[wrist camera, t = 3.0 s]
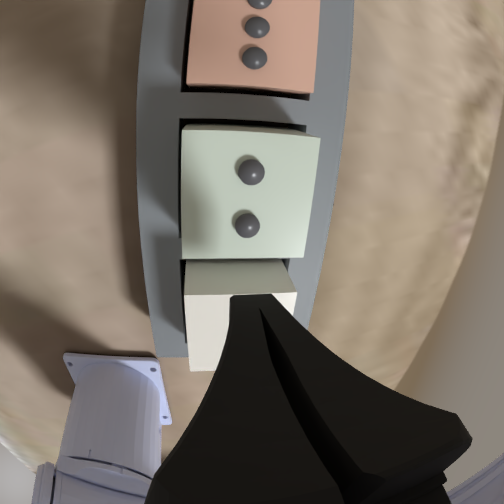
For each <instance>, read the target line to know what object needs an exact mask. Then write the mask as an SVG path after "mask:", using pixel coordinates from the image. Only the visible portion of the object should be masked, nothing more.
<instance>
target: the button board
mask: <svg viewBox="0 0 504 504" xmlns="http://www.w3.org/2000/svg"><path fill="white" fill-rule="evenodd" d="M192 4H193V0H146V3H145V10H144V17H143V25H142V34H141V44H140V55H139V68H138V84H137V109H136V170H137V195H138V213H139V227H140V239H141V249H142V259H143V268H144V277H145V285H146V293H147V300H148V307H149V313H150V320H151V326H152V332H153V338H154V344H155V349H156V354H157V357H189V354H188V343H187V331H186V317H185V302H184V270H183V259H182V232H181V148H182V129H183V118H214V119H240V120H257V121H270V122H281V123H288V128H291V129H295V130H298V131H301V132H304V133H307V134H310V135H313V136H316V137H319V138H321V139H320V147H319V156H318V163H317V171H316V179H315V186H314V193H313V200H312V207H311V214H310V220H309V227H308V233H307V239H306V245H305V251H304V257H303V258H213V259H281V260H282V262H283V264H284V266H285V268H286V270H287V272H288V274H289V276H290V278H291V280H292V282H293V284H294V286H295V288H296V291H297V297H296V302H295V307H294V313H293V317H294V318H295V319H296V320H297V321H298V322H299V323H300V324H301V325H302V326H303V327H304V328H306V329H308V325H309V321H310V317H311V312H312V308H313V304H314V299H315V295H316V290H317V286H318V281H319V276H320V272H321V267H322V262H323V257H324V252H325V247H326V242H327V236H328V231H329V225H330V220H331V214H332V208H333V202H334V196H335V190H336V184H337V178H338V171H339V164H340V157H341V150H342V142H343V134H344V126H345V118H346V109H347V100H348V90H349V79H350V67H351V54H352V38H353V18H354V0H320V15H319V31H318V45H317V58H316V70H315V82H314V93H304V94H291V98H281V97H272V96H261V95H248V94H232V93H200V92H185V79H186V65H187V52H188V41H189V31H190V21H191V13H192Z"/></svg>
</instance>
